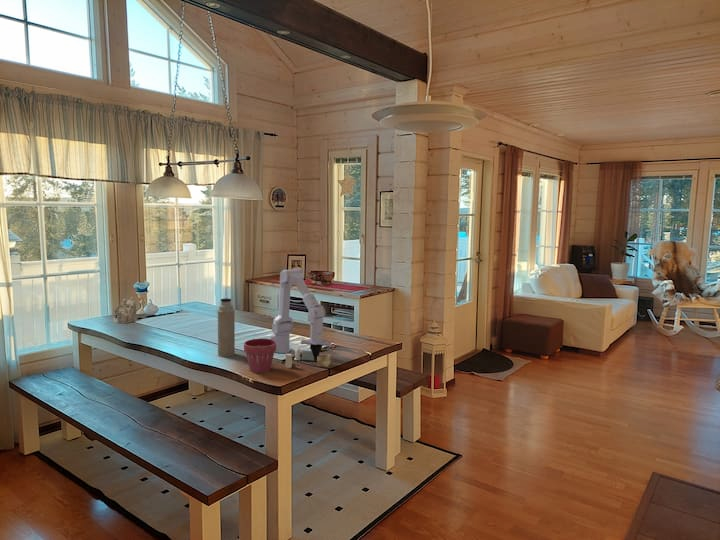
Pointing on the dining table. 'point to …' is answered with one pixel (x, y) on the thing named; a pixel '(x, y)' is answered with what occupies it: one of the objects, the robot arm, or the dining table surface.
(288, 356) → the latch stile
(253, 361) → the plant pot
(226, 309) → the thermos bottle
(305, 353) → the gate
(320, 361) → the block
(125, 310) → the grey rough lump
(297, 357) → the gate post
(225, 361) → the dining table surface
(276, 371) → the dining table surface
